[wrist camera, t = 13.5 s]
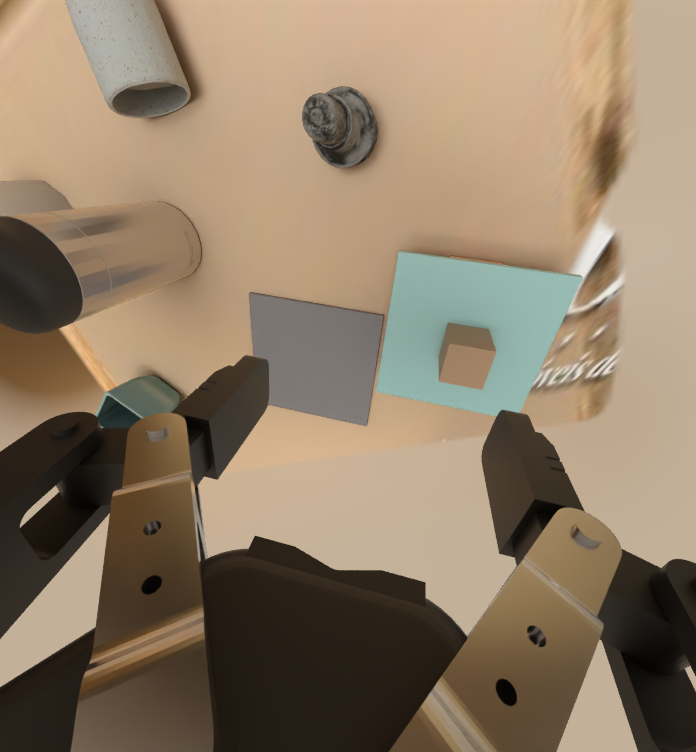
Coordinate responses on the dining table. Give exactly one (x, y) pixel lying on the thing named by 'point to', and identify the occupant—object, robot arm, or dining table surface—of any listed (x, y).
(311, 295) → the dining table surface
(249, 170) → the dining table surface
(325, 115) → the dark grey chess piece
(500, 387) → the lid
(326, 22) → the dining table surface
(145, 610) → the robot arm
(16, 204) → the toilet tissue
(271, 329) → the mat
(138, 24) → the ceramic mug
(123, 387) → the flower pot
